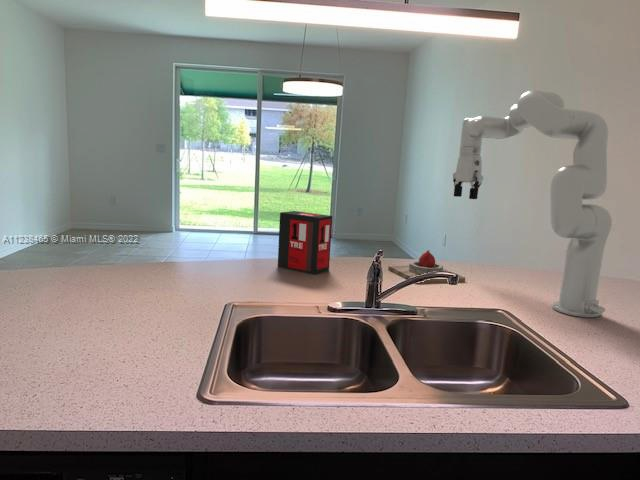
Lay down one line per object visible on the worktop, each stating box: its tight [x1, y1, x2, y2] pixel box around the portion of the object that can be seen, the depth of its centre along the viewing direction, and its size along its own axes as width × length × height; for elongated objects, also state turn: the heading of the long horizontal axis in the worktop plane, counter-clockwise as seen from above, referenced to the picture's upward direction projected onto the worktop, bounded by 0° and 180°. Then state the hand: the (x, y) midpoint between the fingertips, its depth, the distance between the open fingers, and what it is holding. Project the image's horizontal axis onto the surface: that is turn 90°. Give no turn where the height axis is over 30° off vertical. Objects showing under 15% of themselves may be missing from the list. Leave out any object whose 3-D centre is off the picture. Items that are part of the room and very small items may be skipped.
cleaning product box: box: [277, 210, 333, 276], centre depth 181 cm, size 16×9×20 cm, turn 58°
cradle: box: [387, 260, 466, 284], centre depth 183 cm, size 20×20×4 cm
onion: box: [418, 249, 436, 268], centre depth 182 cm, size 6×6×8 cm
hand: (465, 197), depth 190 cm, fingers open, 9 cm apart
